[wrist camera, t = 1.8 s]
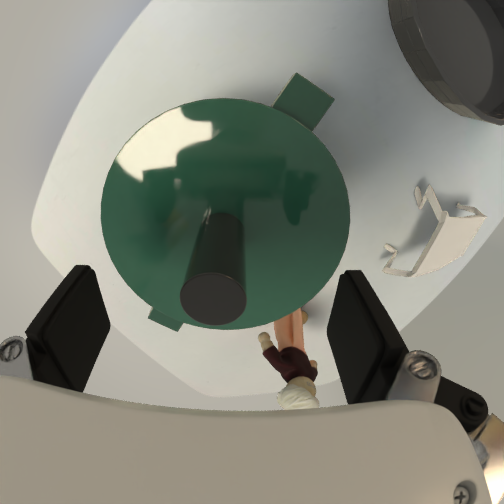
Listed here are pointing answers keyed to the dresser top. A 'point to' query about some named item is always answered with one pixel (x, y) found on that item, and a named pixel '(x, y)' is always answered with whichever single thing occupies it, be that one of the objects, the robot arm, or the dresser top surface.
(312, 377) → the grandmother figurine
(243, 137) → the lid
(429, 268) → the origami figure
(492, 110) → the pan
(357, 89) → the dresser top surface
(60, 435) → the robot arm
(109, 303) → the dresser top surface
